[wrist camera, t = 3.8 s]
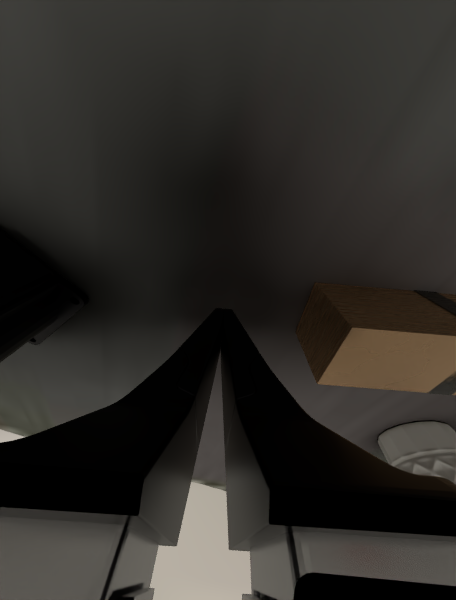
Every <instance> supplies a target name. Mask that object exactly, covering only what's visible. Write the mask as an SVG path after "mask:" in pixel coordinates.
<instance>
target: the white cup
mask: <svg viewBox="0 0 456 600" xmlns="http://www.w3.org/2000/svg"><path fill="white" fill-rule="evenodd" d="M378 444H379V446H380V448H381V450H382V452H383V453H384V455H385V457H386V459H387V461H388V463H389V465H392V466H394V467H396V468H398V469H401V470H403V471H406V472H409V473H413V474H418V475H428V476H438V477H443V478H446V479H448V480H450V481H451V482H453V483H454V484H456V432H455V431H454V430H453V429H452V428H451V427H450V426H449V425H448V424H444V423H440V422H435V421H425V422H414V423H408V424H403V425H399V426H397V427H394V428H391V429H389V430H386V431H385V432H383V433H382V434H381V435H380V436H379V438H378Z"/></svg>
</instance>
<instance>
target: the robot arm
mask: <svg viewBox="0 0 456 600" xmlns="http://www.w3.org/2000/svg"><path fill="white" fill-rule="evenodd" d="M88 302H89V298H88V296H87V295H86V294H85V293H84V292H82V291H81V290H80V289H79V288H77V287H76V286H75V285H73V284H72V283H71V282H69V281H68V280H67V279H65V278H64V277H63V276H62V275H60V274H59V273H58V272H56V271H55V270H54V269H52V268H51V267H50V266H48V265H47V264H46V263H45V262H43V261H42V260H41V259H39V258H38V257H37V256H35V255H34V254H33V253H31V252H30V251H29V250H27V249H26V248H25V247H24V246H22V245H21V244H20V243H18V242H17V241H16V240H14V239H13V238H12V237H10V236H9V235H8V234H7V233H5V232H4V231H3V230H1V229H0V362H1V361H3V360H4V359H5V358H7V357H8V356H9V355H11V354H12V353H13V352H15V351H16V350H17V349H19V348H20V347H21V346H23V345H24V344H25V343H27V342H29V343H31V344H34V345H38V344H40V343H41V342H43V341H44V340H45V339H46V338H47V337H49V336H50V335H51V334H52V333H53V332H54V331H56V330H57V329H58V328H59V327H60V326H61V325H63V324H64V323H65V322H66V321H67V320H68V319H70V318H71V317H72V316H73V315H74V314H75V313H77V312H78V311H79V310H80V309H81V308H82V307H84V306H85V305H86V304H87V303H88ZM223 315H224V316H223ZM221 338H222V339H221ZM220 349H221V374H222V397H223V420H224V444H225V468H226V491H227V515H228V538H229V550H238V551H250V560H251V561H250V562H251V588H252V594H243V595H242V600H456V484H454V483H453V482H451V481H450V480H448V479H446V478H443V477H438V476H428V475H418V474H413V473H409V472H406V471H403V470H401V469H398V468H396V467H394V466H392V465H389V464H388V463H386V462H384V461H382V460H380V459H378V458H377V457H375V456H373V455H372V454H370V453H368V452H367V451H365V450H363V449H362V448H360V447H358V446H357V445H355V444H353V443H352V442H350V441H348V440H347V439H345V438H343V437H342V436H340V435H338V434H337V433H335V432H333V431H332V430H330V429H328V428H326V427H325V426H323V425H321V424H320V423H318V422H317V421H315V420H314V419H313V418H311V417H310V416H309V415H308V414H307V413H306V412H305V411H304V410H303V409H302V408H301V407H300V405H299V404H298V403H297V402H296V400H295V399H294V398H293V397H292V396H291V394H290V393H289V392H288V391H287V389H286V388H285V387H284V386H283V384H282V383H281V382H280V381H279V380H278V378H277V377H276V376H275V374H274V373H273V372H272V370H271V369H270V368H269V366H268V365H267V363H266V362H265V360H264V359H263V357H262V356H261V354H260V353H259V351H258V349H257V348H256V346H255V345H254V343H253V342H252V340H251V338H250V337H249V335H248V334H247V332H246V331H245V329H244V327H243V326H242V324H241V323H240V321H239V320H238V318H237V316H236V315H235V313H234V312H233V310H232V309H222V308H216V309H215V310H214V311H213V312H212V313H211V314H210V315H209V316H208V317H207V318H206V320H205V321H204V322H203V323H202V324H201V325H200V326H199V327H198V328H197V329H196V330H195V331H194V332H193V334H192V335H191V336H190V337H189V338H188V339H187V340H186V341H185V342H184V343H183V344H182V345H181V347H179V348H178V350H177V351H176V352H175V353H174V354H173V355H172V356H171V357H170V358H169V359H168V360H167V361H166V362H165V363H164V364H162V365H161V366H160V367H159V368H158V369H157V370H156V371H155V372H153V373H152V374H151V375H150V376H149V377H148V378H146V379H145V380H144V381H143V382H142V383H141V384H139V385H138V386H137V387H136V388H135V389H134V390H132V391H131V392H130V393H129V394H127V395H126V396H125V397H123V398H122V399H121V400H119V401H117V402H116V403H114V404H112V405H110V406H107V407H105V408H102V409H100V410H97V411H94V412H92V413H89V414H87V415H84V416H81V417H79V418H76V419H73V420H71V421H68V422H66V423H63V424H60V425H58V426H55V427H53V428H50V429H47V430H45V431H42V432H40V433H37V434H34V435H31V436H28V437H25V438H21V439H17V440H14V441H9V442H2V443H0V600H152V599H153V594H154V588H149V587H150V583H151V578H152V573H153V568H154V564H155V559H156V555H157V550H158V545H163V546H177V542H178V537H179V533H180V528H181V524H182V519H183V515H184V510H185V506H186V501H187V497H188V493H189V488H190V484H191V479H192V475H193V470H194V466H195V462H196V457H197V452H198V448H199V444H200V439H201V435H202V430H203V426H204V421H205V417H206V412H207V408H208V403H209V399H210V395H211V390H212V386H213V381H214V377H215V372H216V368H217V363H218V359H219V354H220Z"/></svg>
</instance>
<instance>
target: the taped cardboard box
mask: <svg viewBox="0 0 456 600" xmlns="http://www.w3.org/2000/svg"><path fill="white" fill-rule="evenodd" d="M296 334H297V337H298V339H299V341H300V344H301V346H302V349H303V351H304V354H305V356H306V358H307V361H308V363H309V366H310V368H311V370H312V373H313V375H314V378H315V380H316V383H317V384H324V385H336V386H349V387H362V388H375V389H387V390H400V391H413V392H425V393H430V394H443V395H456V295H453V294H441V293H437V292H428V291H417V290H414V291H407V290H396V289H385V288H373V287H362V286H351V285H339V284H328V283H317V282H315V284H314V286H313V289H312V291H311V294H310V296H309V299H308V301H307V304H306V306H305V309H304V311H303V314H302V316H301V319H300V321H299V324H298V327H297V329H296Z"/></svg>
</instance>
